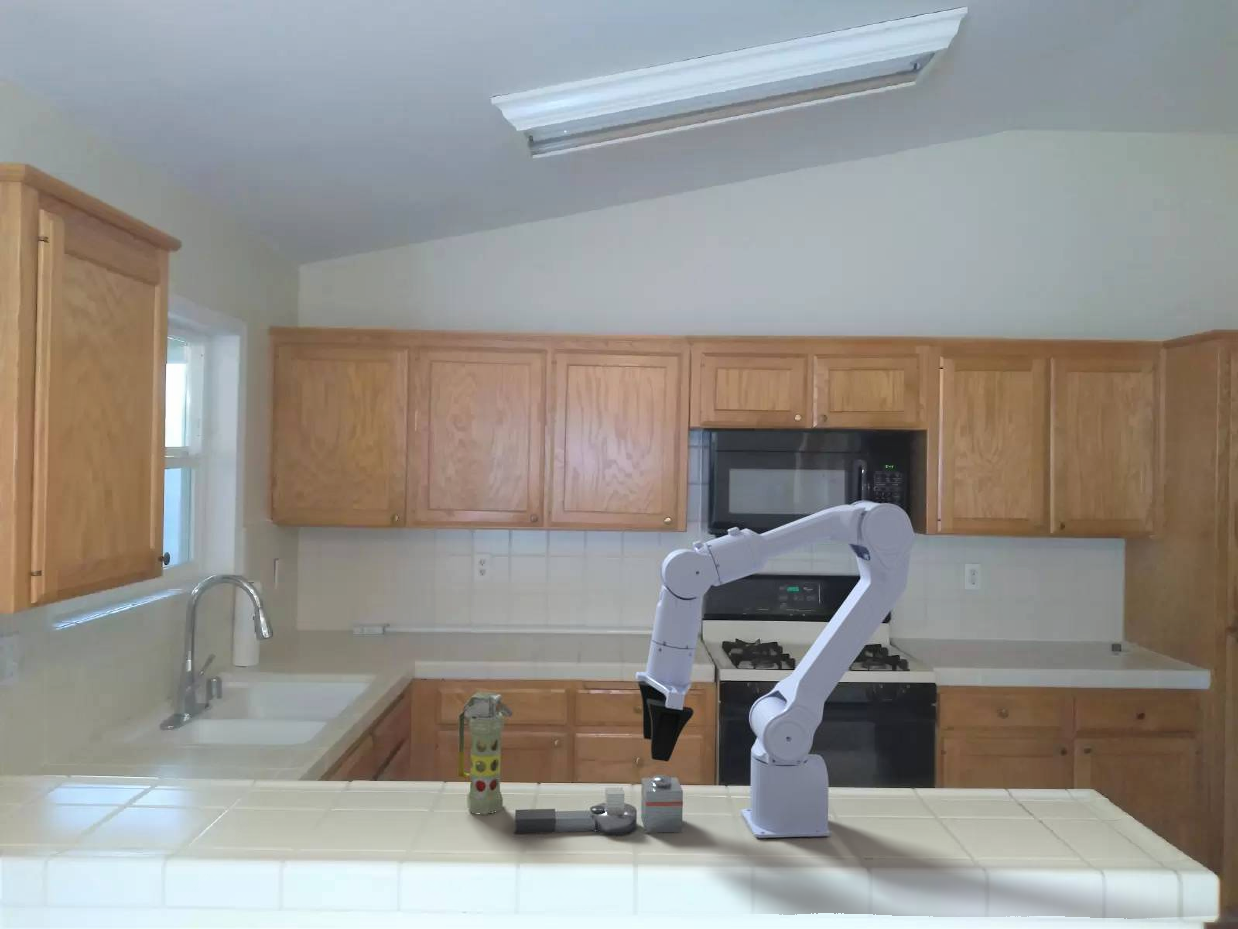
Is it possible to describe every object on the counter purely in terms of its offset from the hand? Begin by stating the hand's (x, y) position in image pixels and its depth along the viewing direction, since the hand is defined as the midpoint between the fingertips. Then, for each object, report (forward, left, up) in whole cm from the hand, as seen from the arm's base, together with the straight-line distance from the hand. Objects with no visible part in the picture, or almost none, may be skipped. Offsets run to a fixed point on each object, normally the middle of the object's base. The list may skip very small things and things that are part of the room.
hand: (655, 749), depth 109 cm
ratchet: (+10, 0, -10) cm, 14 cm away
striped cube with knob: (-1, 0, -10) cm, 10 cm away
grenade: (+22, -8, -10) cm, 25 cm away
